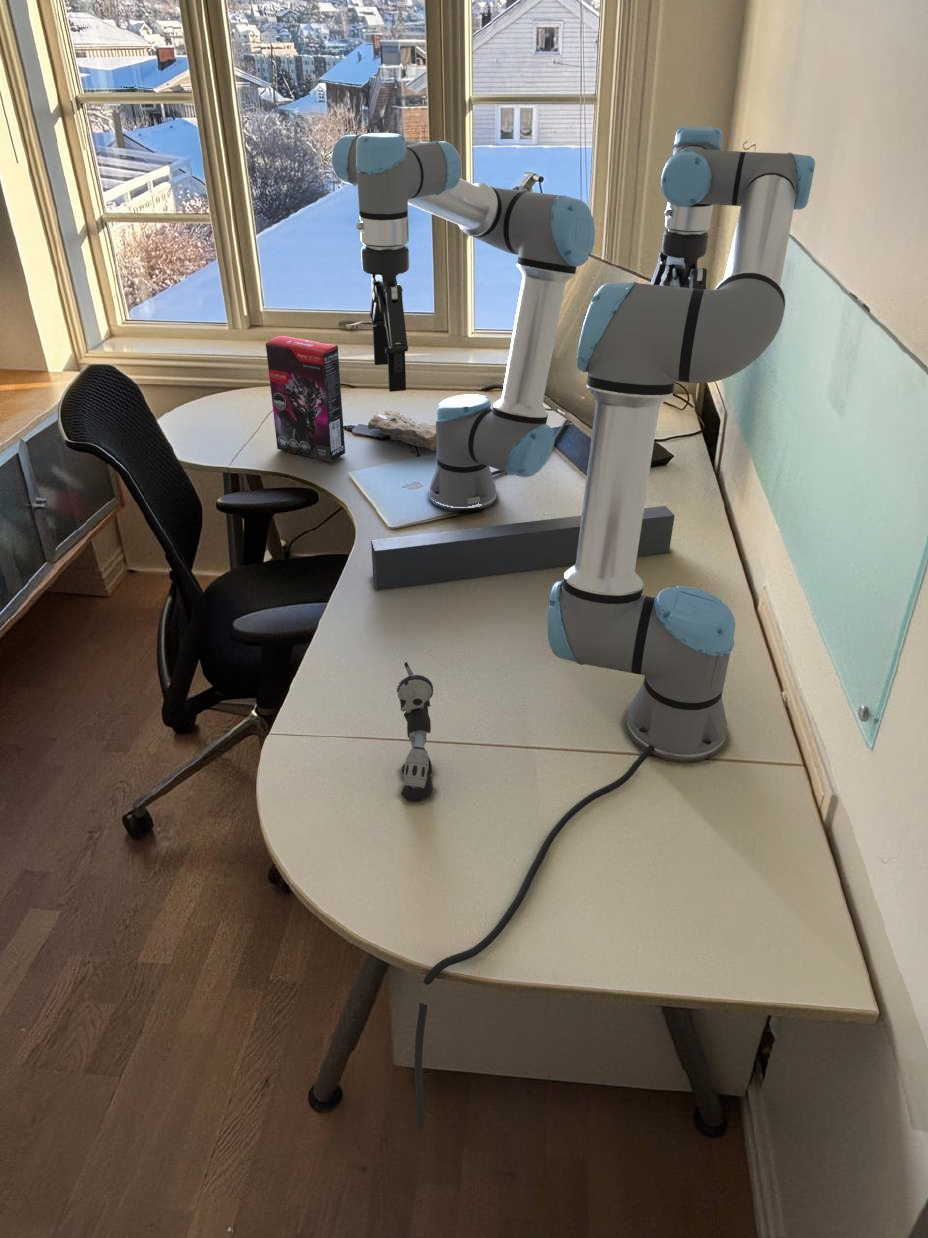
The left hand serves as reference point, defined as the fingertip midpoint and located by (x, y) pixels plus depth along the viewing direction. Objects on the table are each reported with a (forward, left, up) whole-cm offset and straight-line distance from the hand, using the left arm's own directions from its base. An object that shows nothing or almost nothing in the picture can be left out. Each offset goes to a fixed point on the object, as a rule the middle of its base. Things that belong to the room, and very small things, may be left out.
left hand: (389, 376), depth 157 cm
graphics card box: (-52, -40, -41) cm, 77 cm away
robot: (+52, +21, -41) cm, 69 cm away
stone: (-66, -20, -41) cm, 80 cm away
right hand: (-26, +45, 0) cm, 52 cm away
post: (-13, +22, -41) cm, 48 cm away
